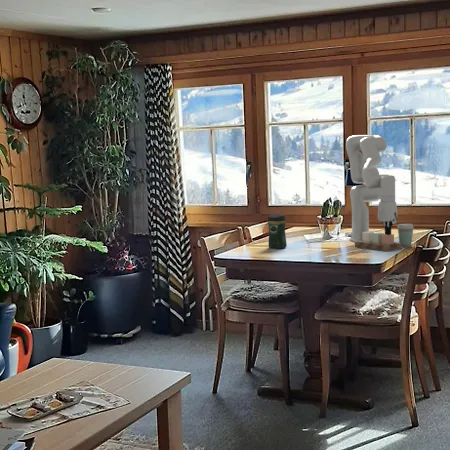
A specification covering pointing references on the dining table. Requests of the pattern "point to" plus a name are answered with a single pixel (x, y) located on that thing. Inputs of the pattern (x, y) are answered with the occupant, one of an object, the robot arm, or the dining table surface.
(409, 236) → the coffee cup
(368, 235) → the pale grey block
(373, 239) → the key sage
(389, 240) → the key terracotta
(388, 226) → the robot arm
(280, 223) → the coffee jar
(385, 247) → the brown tray
